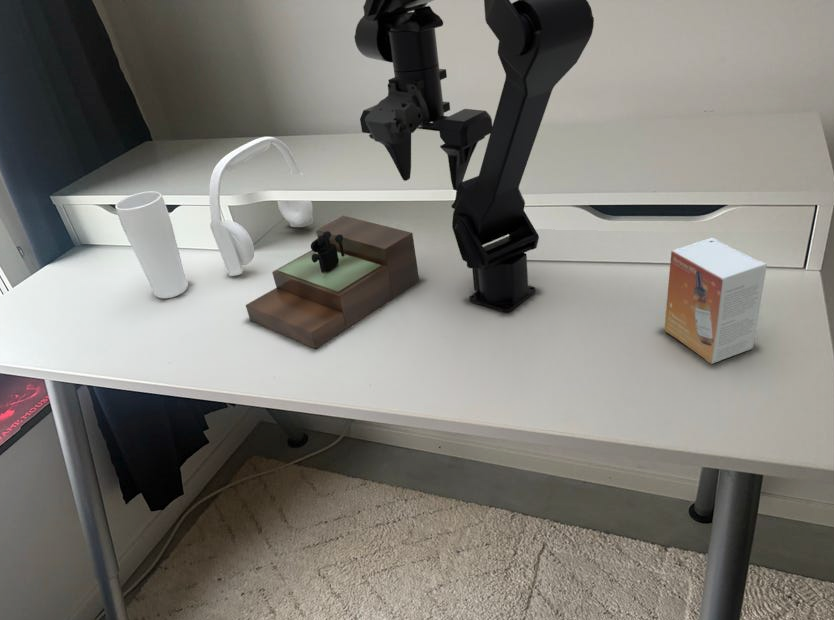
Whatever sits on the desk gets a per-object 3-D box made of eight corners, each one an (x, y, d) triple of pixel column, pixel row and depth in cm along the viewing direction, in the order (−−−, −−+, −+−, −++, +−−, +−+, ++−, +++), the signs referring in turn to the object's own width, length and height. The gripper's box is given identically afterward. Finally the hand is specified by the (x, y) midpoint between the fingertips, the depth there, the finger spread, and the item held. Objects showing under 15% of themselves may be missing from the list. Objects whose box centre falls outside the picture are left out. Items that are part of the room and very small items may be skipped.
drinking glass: (141, 302, 109) (104, 210, 101) (163, 281, 114) (130, 191, 106) (180, 302, 107) (146, 208, 99) (201, 280, 113) (170, 189, 104)
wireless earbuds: (321, 281, 95) (312, 246, 92) (305, 278, 96) (297, 244, 93) (349, 257, 100) (342, 223, 97) (334, 255, 101) (327, 222, 98)
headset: (248, 283, 109) (214, 170, 99) (215, 277, 113) (179, 167, 103) (325, 228, 123) (302, 123, 113) (293, 224, 126) (268, 122, 116)
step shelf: (419, 281, 102) (412, 232, 98) (315, 349, 91) (302, 298, 87) (352, 260, 111) (343, 215, 106) (249, 320, 100) (235, 272, 95)
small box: (663, 331, 83) (669, 249, 77) (703, 317, 84) (712, 235, 78) (711, 365, 76) (722, 278, 71) (754, 349, 78) (768, 262, 72)
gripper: (320, 80, 92) (343, 195, 100) (430, 88, 80) (445, 218, 89) (380, 57, 98) (397, 168, 107) (490, 62, 86) (499, 186, 95)
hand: (431, 184), depth 99 cm, fingers open, 9 cm apart
